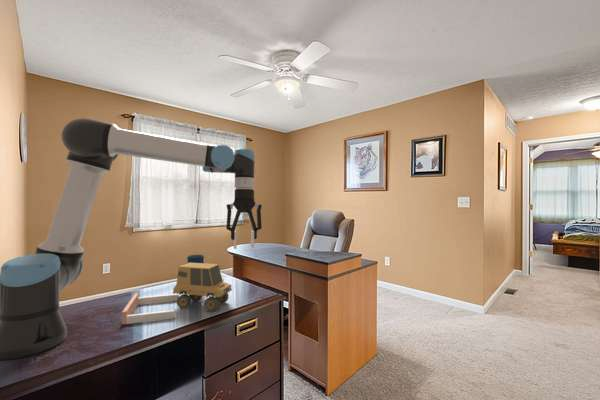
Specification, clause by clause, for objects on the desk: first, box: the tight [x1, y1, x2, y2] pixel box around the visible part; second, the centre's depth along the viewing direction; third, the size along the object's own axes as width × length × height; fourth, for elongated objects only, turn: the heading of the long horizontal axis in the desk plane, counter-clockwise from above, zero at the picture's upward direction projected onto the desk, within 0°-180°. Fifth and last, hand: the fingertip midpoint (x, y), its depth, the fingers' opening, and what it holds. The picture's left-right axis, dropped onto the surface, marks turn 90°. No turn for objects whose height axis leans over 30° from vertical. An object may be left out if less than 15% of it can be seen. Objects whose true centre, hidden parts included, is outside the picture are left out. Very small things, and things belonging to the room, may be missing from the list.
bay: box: [121, 292, 180, 325], centre depth 99 cm, size 15×18×4 cm
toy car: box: [172, 262, 233, 312], centre depth 105 cm, size 10×19×15 cm, turn 78°
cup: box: [186, 254, 205, 263], centre depth 122 cm, size 7×7×15 cm
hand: (243, 247), depth 110 cm, fingers open, 6 cm apart
